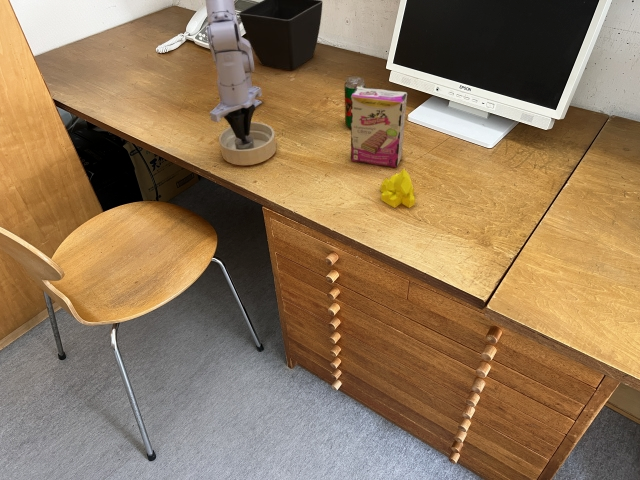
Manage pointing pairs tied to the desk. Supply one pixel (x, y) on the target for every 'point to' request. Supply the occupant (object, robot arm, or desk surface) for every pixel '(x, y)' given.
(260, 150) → the bowl
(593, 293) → the desk surface
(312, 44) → the flower pot
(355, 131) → the candy bar box
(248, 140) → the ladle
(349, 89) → the soda can
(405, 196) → the yellow faceted lump
